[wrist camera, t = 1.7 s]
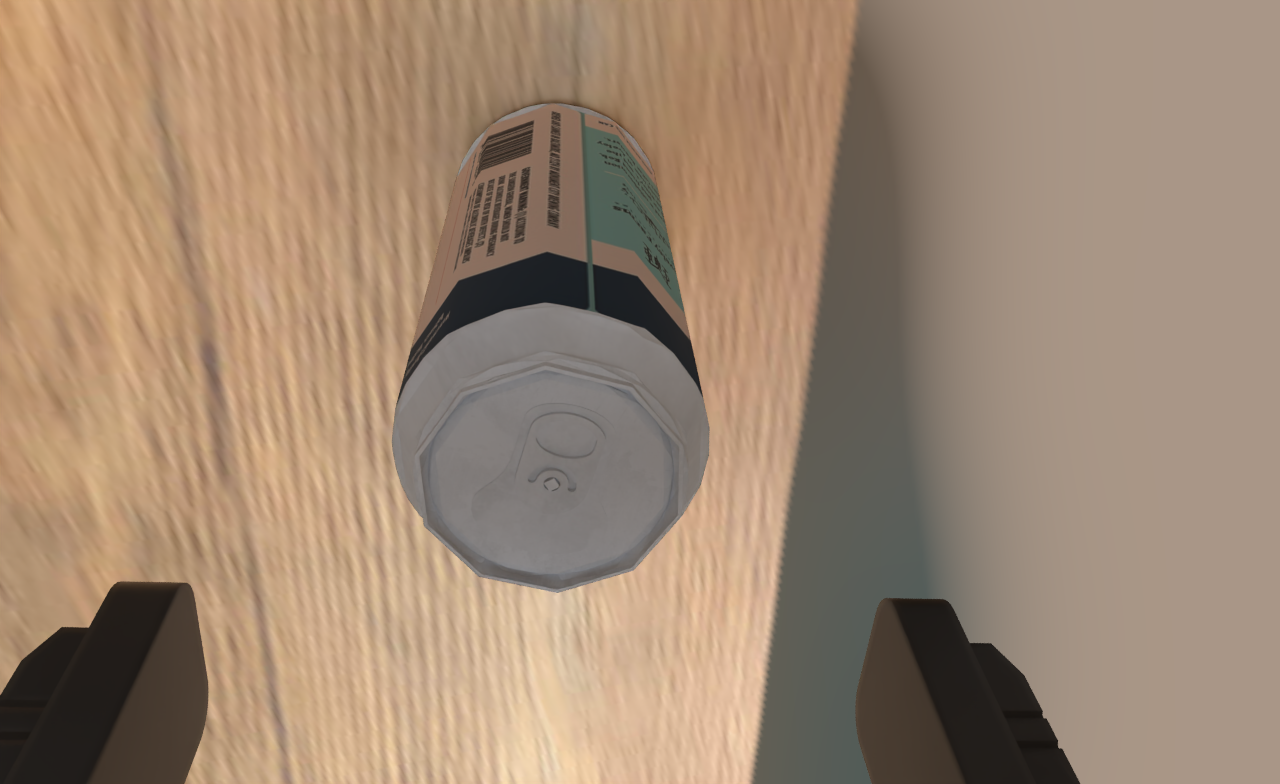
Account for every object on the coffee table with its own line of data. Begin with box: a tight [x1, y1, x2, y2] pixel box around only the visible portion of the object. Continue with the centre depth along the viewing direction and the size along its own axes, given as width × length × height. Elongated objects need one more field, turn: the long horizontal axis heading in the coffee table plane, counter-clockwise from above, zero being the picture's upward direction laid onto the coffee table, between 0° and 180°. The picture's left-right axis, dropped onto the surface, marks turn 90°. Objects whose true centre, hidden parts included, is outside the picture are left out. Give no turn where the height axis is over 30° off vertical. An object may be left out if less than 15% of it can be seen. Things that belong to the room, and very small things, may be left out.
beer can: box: [392, 104, 709, 593], centre depth 21 cm, size 5×5×12 cm
